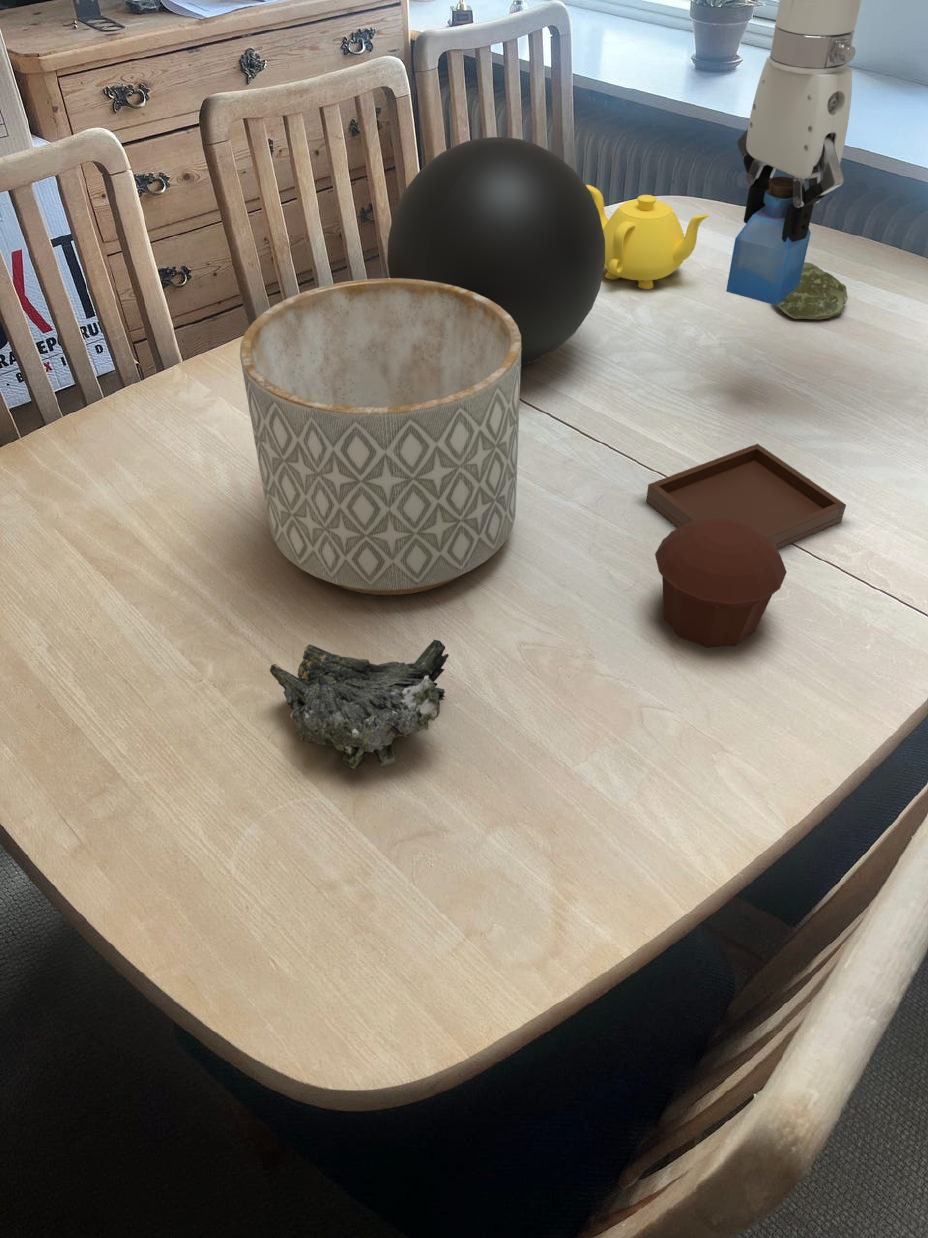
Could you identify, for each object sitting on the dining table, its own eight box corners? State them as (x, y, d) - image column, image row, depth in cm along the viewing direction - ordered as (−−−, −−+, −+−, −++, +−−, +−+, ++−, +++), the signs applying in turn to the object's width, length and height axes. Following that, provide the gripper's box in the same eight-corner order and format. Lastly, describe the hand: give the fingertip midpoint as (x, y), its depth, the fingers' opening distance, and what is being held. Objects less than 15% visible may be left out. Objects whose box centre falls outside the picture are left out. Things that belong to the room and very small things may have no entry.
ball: (603, 317, 143) (622, 111, 124) (586, 417, 123) (606, 191, 105) (416, 303, 146) (408, 101, 128) (372, 399, 127) (354, 177, 108)
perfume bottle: (798, 285, 117) (822, 179, 109) (776, 305, 113) (799, 196, 105) (749, 272, 120) (768, 167, 112) (726, 291, 116) (744, 184, 108)
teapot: (552, 276, 152) (556, 199, 145) (603, 243, 161) (609, 169, 153) (671, 312, 144) (682, 232, 136) (717, 275, 152) (731, 198, 145)
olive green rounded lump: (794, 315, 139) (791, 243, 139) (763, 331, 146) (760, 263, 146) (856, 320, 142) (853, 249, 142) (823, 336, 149) (820, 269, 149)
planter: (484, 451, 118) (485, 266, 103) (542, 592, 100) (555, 392, 85) (264, 479, 114) (232, 291, 99) (283, 631, 96) (248, 429, 81)
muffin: (772, 587, 100) (794, 505, 93) (771, 665, 92) (795, 582, 85) (651, 570, 102) (664, 489, 95) (640, 645, 94) (653, 562, 87)
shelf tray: (753, 460, 116) (757, 443, 115) (841, 522, 108) (846, 504, 106) (645, 501, 111) (648, 484, 109) (729, 570, 102) (732, 552, 100)
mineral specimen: (450, 613, 90) (412, 583, 80) (478, 754, 86) (443, 739, 77) (297, 656, 93) (244, 632, 84) (318, 793, 89) (265, 784, 80)
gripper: (904, 62, 95) (856, 250, 108) (780, 24, 107) (748, 199, 119) (845, 74, 93) (802, 266, 105) (724, 33, 104) (698, 211, 116)
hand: (774, 228), depth 112 cm, fingers closed on perfume bottle, 5 cm apart
